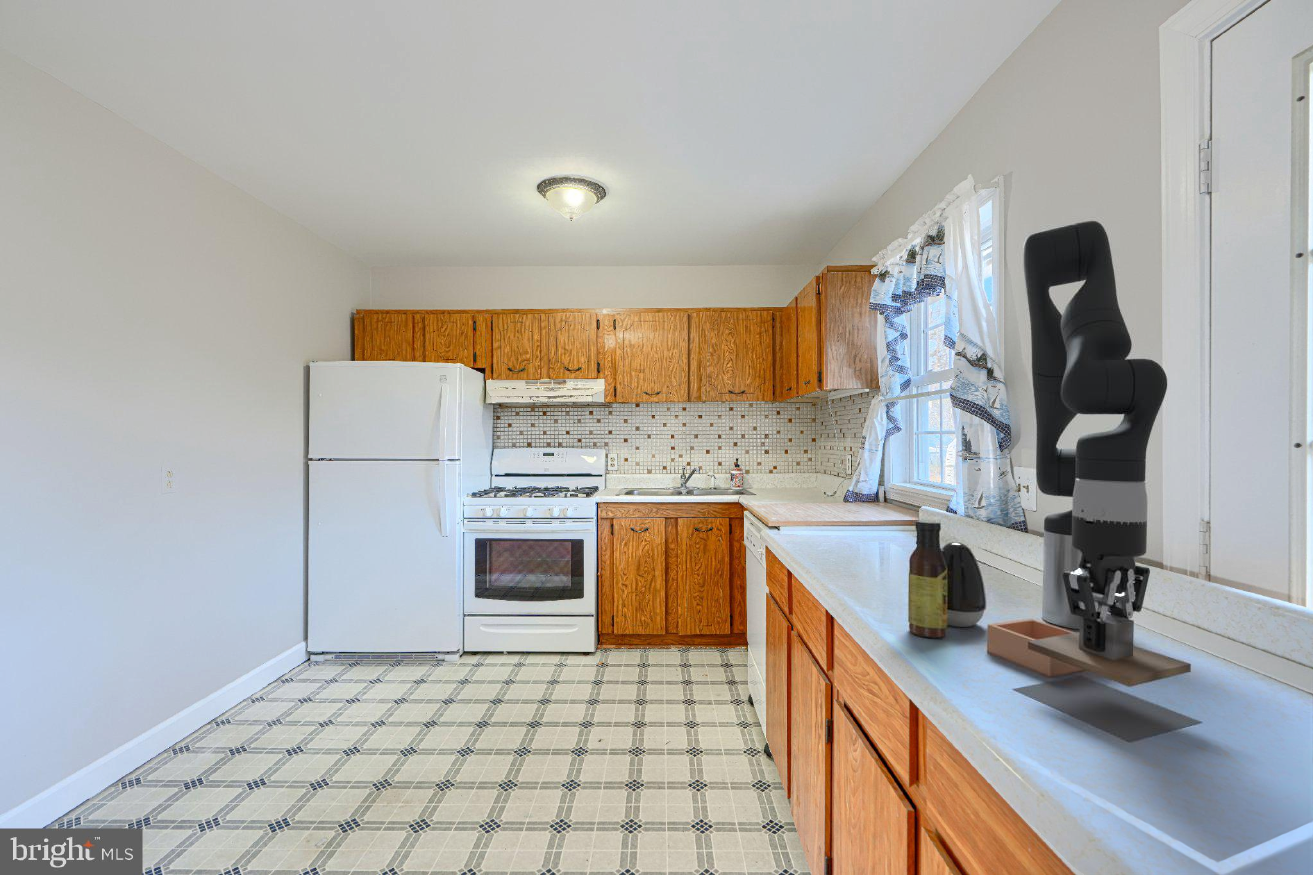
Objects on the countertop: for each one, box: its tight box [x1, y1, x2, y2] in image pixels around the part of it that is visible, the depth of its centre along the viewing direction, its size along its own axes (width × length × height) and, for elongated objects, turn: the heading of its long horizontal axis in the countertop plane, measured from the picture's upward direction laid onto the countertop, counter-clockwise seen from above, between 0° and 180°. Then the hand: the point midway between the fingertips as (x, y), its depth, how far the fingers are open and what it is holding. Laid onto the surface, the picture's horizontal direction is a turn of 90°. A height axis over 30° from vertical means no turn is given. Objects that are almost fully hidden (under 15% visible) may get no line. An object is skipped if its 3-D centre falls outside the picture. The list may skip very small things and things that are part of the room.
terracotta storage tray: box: [986, 618, 1087, 679], centre depth 87 cm, size 10×10×5 cm
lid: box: [1028, 612, 1192, 688], centre depth 73 cm, size 12×12×6 cm
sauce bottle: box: [907, 519, 948, 639], centre depth 100 cm, size 7×6×20 cm
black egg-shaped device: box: [941, 541, 987, 628], centre depth 106 cm, size 10×10×15 cm
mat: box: [1012, 675, 1203, 743], centre depth 73 cm, size 14×14×1 cm
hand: (1105, 646), depth 73 cm, fingers closed on lid, 4 cm apart
